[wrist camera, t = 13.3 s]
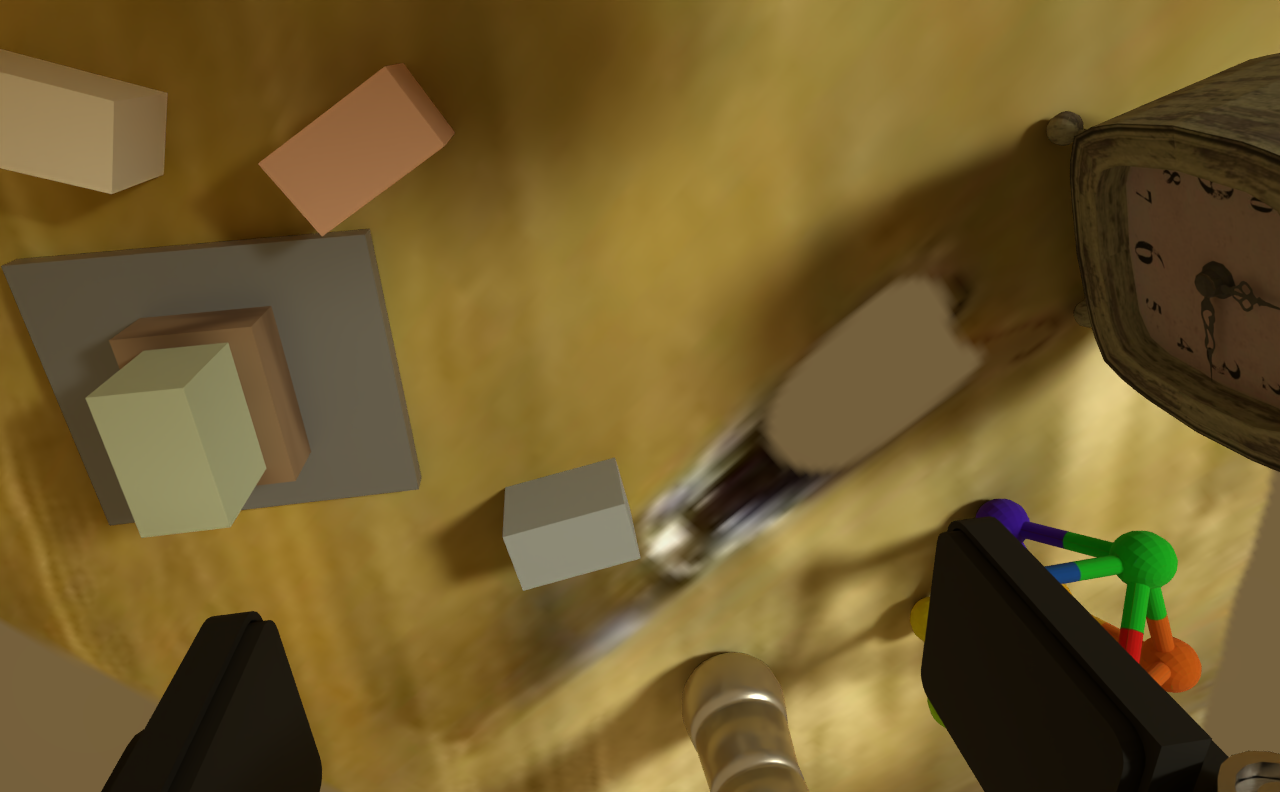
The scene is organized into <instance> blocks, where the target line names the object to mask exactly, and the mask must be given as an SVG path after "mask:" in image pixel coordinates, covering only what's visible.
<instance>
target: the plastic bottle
mask: <svg viewBox="0 0 1280 792" xmlns="http://www.w3.org/2000/svg"><path fill="white" fill-rule="evenodd" d="M682 715H683V721H684V724H685V726H686V729H687V732H688V734H689V737H690V739H691V741H692V743H693V745H694V747H695V749H696V751H697V753H698V756H699V759H700V762H701V765H702V768H703V771H704V774H705V777H706V780H707V783H708V786H709V789H710V792H809V789H808V787H807V785H806V782H805V781H804V778H803V775H802V773H801V770H800V768H799V766H798V762H797V759H796V755H795V751H794V747H793V743H792V739H791V735H790V732H789V728H788V723H787V712H786V705H785V700H784V695H783V691H782V688H781V685H780V684H779V682H778V680H777V679H776V677H775V676H774V674H773V673H772V671H771V670H770V668H769V667H768V666H767V665H766V664H765V663H764V662H762V661H761V660H759V659H757V658H754V657H752V656H750V655H748V654H744V653H736V652H732V653H724V654H719V655H716V656H714V657H711V658H709V659H707V660H706V661H704V662H703V663H701V664H700V665H699V666H698V667H697V668H696V669H695V670H694V671H693V672H692V674H691V676H690V677H689V679H688V680H687V682H686V684H685V686H684V689H683V694H682Z"/></svg>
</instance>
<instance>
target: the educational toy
mask: <svg viewBox="0 0 1280 792" xmlns="http://www.w3.org/2000/svg"><path fill="white" fill-rule="evenodd" d="M988 516H991V517H995V518H996V519H997V520H999V521H1000V522H1001V523H1002V524H1003V525H1004V526H1005V527H1006V528H1007V529H1008V530H1009V531H1010V532H1011V533H1012V534H1013V535H1014V536H1015V537H1016V538H1017V539H1018V540H1019V541H1020V543H1021V544H1022V545H1023V546H1024V547H1025V545H1024V543H1023V541H1024V540H1025V539H1030V540H1033V541H1037V542H1041V543H1045V544H1048V545H1052V546H1056V547H1060V548H1063V549H1067V550H1071V551H1075V552H1078V553H1082V554H1086V555H1090V556H1093V557H1097V558H1092V559H1086V560H1080V561H1074V562H1068V563H1063V564H1057V565H1051V566H1045V568H1046V569H1047V570H1048V571H1049V572H1050V573H1051V574H1052V575H1053V576H1054V577H1055V578H1056V579H1057V580H1058V581H1059V582H1060V583H1061V584H1062V586H1063V587H1064V588H1065V589H1066V590H1067V591H1068V592H1069V593H1070V594H1071V592H1070V590H1069V588H1068V587H1067V586H1066V585H1065V583H1071V582H1076V581H1082V580H1088V579H1094V578H1099V577H1105V576H1111V575H1117V576H1118V577H1119V578H1120V579H1121V580H1122V581H1123V582H1124V583H1126V584H1127V590H1126V596H1125V603H1124V609H1123V615H1122V622H1121V628H1120V629H1119V628H1117V627H1115V626H1113V625H1111V624H1109V623H1107V622H1105V621H1103V620H1101V619H1099V618H1097V617H1095V616H1093V615H1092V616H1093V617H1094V618H1095V619H1096V620H1097V621H1098V622H1099V623H1100V624H1101V625H1102V626H1103V628H1104V629H1105V630H1106V631H1107V632H1108V633H1109V634H1110V635H1111V636H1112V637H1113V638H1114V639H1115V640H1116V641H1117V642H1118V643H1119V644H1120V645H1121V646H1122V647H1123V648H1124V649H1125V650H1126V651H1127V652H1128V653H1129V654H1130V655H1131V656H1132V657H1133V658H1134V659H1135V660H1136V661H1137V662H1138V663H1139V664H1140V665H1141V666H1142V667H1143V668H1144V669H1145V671H1146V672H1147V673H1148V674H1149V675H1150V676H1151V677H1152V678H1153V679H1154V680H1155V681H1156V682H1157V683H1158V684H1159V685H1160V686H1161V687H1162V688H1163V689H1164V690H1165V691H1167V692H1173V693H1178V692H1183V691H1186V690H1189V689H1191V688H1192V687H1194V686H1195V685H1196V684H1197V682H1198V680H1199V679H1200V676H1201V663H1200V660H1199V658H1198V656H1197V654H1196V652H1195V651H1194V649H1193V648H1191V647H1190V646H1189V645H1188V644H1186V643H1185V642H1183V641H1181V640H1179V639H1177V638H1174V637H1172V633H1171V629H1170V625H1169V621H1168V616H1167V612H1166V608H1165V604H1164V600H1163V595H1162V591H1161V587H1162V586H1163V585H1165V584H1167V583H1168V582H1169V581H1170V580H1171V579H1172V578H1173V577H1174V575H1175V573H1176V571H1177V564H1178V560H1177V557H1176V554H1175V552H1174V549H1173V548H1172V546H1171V545H1170V543H1168V542H1167V541H1166V540H1165V539H1163V538H1161V537H1160V536H1158V535H1156V534H1154V533H1152V532H1148V531H1131V532H1128V533H1125V534H1123V535H1121V536H1120V537H1119V538H1117V539H1116V540H1115V541H1114V543H1112V542H1108V541H1104V540H1100V539H1096V538H1092V537H1088V536H1084V535H1080V534H1076V533H1072V532H1068V531H1064V530H1060V529H1056V528H1052V527H1048V526H1044V525H1040V524H1036V523H1032V522H1030V521H1029V518H1028V516H1027V514H1026V512H1025V510H1024V509H1023V508H1022V507H1021V506H1020V505H1018V504H1017V503H1015V502H1013V501H1011V500H1008V499H993V500H991V501H988V502H986V503H985V504H984V505H982V506H981V507H980V509H979V510H978V512H977V514H976V518H980V517H988ZM1025 548H1026V547H1025ZM1026 549H1027V548H1026ZM1071 595H1072V594H1071ZM929 602H930V597H926V598H923V599H921V600H919V601H918V602H917V603H916V604H915V605H914V607H913V608H912V610H911V614H910V623H911V626H912V629H913V631H914V633H915V635H916V636H917V637H919V638H920V639H921V640H922V641H924V642H925V634H926V626H927V618H928V610H929ZM1145 620H1147V624H1148V628H1149V631H1150V635H1151V638H1149V639H1147V640H1146V641H1145V642H1144V641H1143V634H1144V627H1145ZM927 702H928V705H929V708H930V711H931V714H932V716H933V718H934V719H935V720H936V721H937V722H938V723H939V724H940V725H942V726H943V727H945V726H944V724H943V722H942V721H941V719H940V717H939V716H938V714H937V712H936V711H935V709H934V707H933V706H932V704H931V702H930V701H929V699H928V700H927ZM945 728H946V727H945Z"/></svg>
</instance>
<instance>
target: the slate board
mask: <svg viewBox="0 0 1280 792" xmlns="http://www.w3.org/2000/svg"><path fill="white" fill-rule="evenodd" d="M1 267H2V270H3V272H4V274H5V277H6V279H7V282H8V284H9V286H10V289H11V291H12V293H13V296H14V298H15V301H16V303H17V305H18V308H19V310H20V313H21V315H22V317H23V320H24V322H25V325H26V327H27V329H28V332H29V334H30V336H31V339H32V341H33V344H34V346H35V348H36V351H37V353H38V356H39V358H40V360H41V363H42V365H43V368H44V370H45V372H46V375H47V377H48V379H49V382H50V384H51V387H52V389H53V391H54V394H55V396H56V399H57V401H58V403H59V406H60V408H61V411H62V413H63V415H64V418H65V420H66V422H67V425H68V427H69V430H70V432H71V434H72V437H73V439H74V442H75V444H76V446H77V449H78V451H79V454H80V456H81V458H82V461H83V463H84V465H85V468H86V470H87V473H88V475H89V477H90V480H91V482H92V485H93V487H94V489H95V492H96V494H97V497H98V499H99V501H100V504H101V506H102V508H103V511H104V513H105V516H106V518H107V520H108V523H109V525H117V524H126V523H134V522H135V521H134V518H133V516H132V513H131V511H130V508H129V506H128V503H127V501H126V498H125V496H124V493H123V491H122V488H121V486H120V483H119V481H118V478H117V476H116V473H115V471H114V468H113V466H112V463H111V461H110V458H109V456H108V453H107V451H106V448H105V446H104V443H103V441H102V438H101V436H100V433H99V431H98V428H97V426H96V423H95V421H94V418H93V416H92V413H91V411H90V408H89V406H88V403H87V401H86V397H87V396H88V395H90V394H91V393H92V392H93V391H94V390H96V389H97V388H98V387H99V386H101V385H102V384H103V383H104V382H106V381H107V380H108V379H109V378H110V377H112V376H113V375H114V374H115V373H117V372H118V371H119V370H120V369H119V366H118V363H117V361H116V358H115V355H114V353H113V350H112V347H111V345H110V342H109V340H110V339H112V338H113V337H114V336H116V335H117V334H119V333H120V332H121V331H123V330H124V329H125V328H127V327H128V326H130V325H131V324H132V323H134V322H135V321H137V320H138V319H139V318H147V317H157V316H168V315H179V314H189V313H200V312H211V311H221V310H232V309H243V308H253V307H264V306H272V310H273V314H274V317H275V321H276V325H277V328H278V332H279V336H280V339H281V343H282V347H283V350H284V354H285V358H286V361H287V365H288V369H289V372H290V376H291V380H292V383H293V387H294V391H295V394H296V398H297V401H298V405H299V409H300V412H301V416H302V420H303V423H304V427H305V431H306V434H307V438H308V442H309V445H310V449H311V453H310V455H309V457H308V459H307V461H306V462H305V464H304V466H303V468H302V470H301V472H300V474H299V476H298V478H297V480H296V481H292V482H284V483H275V484H266V485H257V486H255V488H254V490H253V491H252V493H251V494H250V496H249V498H248V499H247V501H246V503H245V504H244V506H243V508H242V509H241V510H245V509H254V508H262V507H271V506H279V505H288V504H297V503H305V502H314V501H322V500H331V499H339V498H348V497H356V496H365V495H373V494H382V493H391V492H399V491H408V490H416V489H419V486H420V482H421V473H420V469H419V464H418V459H417V454H416V449H415V444H414V440H413V435H412V430H411V425H410V420H409V416H408V411H407V406H406V401H405V396H404V391H403V387H402V382H401V377H400V372H399V367H398V363H397V358H396V353H395V348H394V343H393V338H392V334H391V329H390V324H389V319H388V314H387V310H386V305H385V300H384V295H383V290H382V285H381V281H380V276H379V271H378V266H377V261H376V257H375V252H374V247H373V242H372V237H371V232H370V229H361V230H350V231H338V232H328V233H326V234H325V235H324V236H321V235H320V234H319V233H315V234H303V235H291V236H280V237H268V238H257V239H245V240H233V241H222V242H210V243H198V244H187V245H175V246H164V247H152V248H140V249H129V250H117V251H105V252H94V253H82V254H71V255H59V256H47V257H36V258H24V259H16V260H14V261H11V262H9V263H7V264H4V265H2V266H1Z"/></svg>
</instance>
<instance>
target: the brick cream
mask: <svg viewBox="0 0 1280 792" xmlns="http://www.w3.org/2000/svg"><path fill="white" fill-rule="evenodd" d="M167 95H168V93H166V92H162V91H158V90H154V89H151V88H147V87H143V86H139V85H136V84H132V83H128V82H124V81H120V80H117V79H113V78H109V77H105V76H101V75H98V74H94V73H90V72H86V71H82V70H79V69H75V68H71V67H67V66H63V65H60V64H56V63H52V62H48V61H45V60H41V59H37V58H33V57H29V56H26V55H22V54H18V53H14V52H10V51H7V50H3V49H0V168H1V169H6V170H10V171H14V172H19V173H23V174H27V175H31V176H36V177H40V178H44V179H49V180H53V181H57V182H62V183H66V184H70V185H74V186H79V187H83V188H87V189H92V190H96V191H100V192H105V193H109V194H114V193H116V192H119V191H122V190H124V189H127V188H130V187H132V186H135V185H138V184H140V183H143V182H145V181H148V180H151V179H153V178H156V177H159V176H161V175H164V159H165V137H166V116H167Z"/></svg>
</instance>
